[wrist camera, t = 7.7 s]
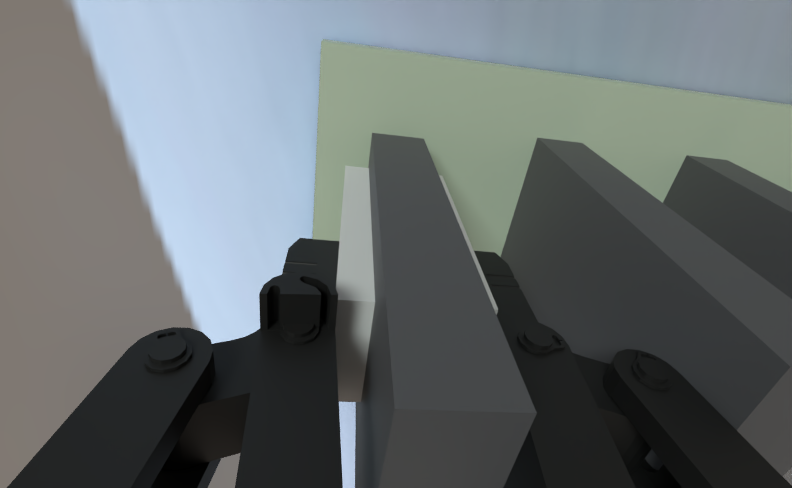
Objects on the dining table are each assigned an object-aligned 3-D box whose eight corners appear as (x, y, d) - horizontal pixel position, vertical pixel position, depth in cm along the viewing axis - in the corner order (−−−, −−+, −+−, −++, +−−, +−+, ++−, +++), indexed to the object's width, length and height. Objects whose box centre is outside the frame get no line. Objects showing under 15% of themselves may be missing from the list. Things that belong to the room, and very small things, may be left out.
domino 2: (537, 137, 14) (791, 366, 6) (582, 142, 15) (888, 371, 6) (498, 262, 17) (636, 547, 8) (537, 265, 17) (710, 546, 9)
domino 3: (686, 155, 15) (1103, 382, 7) (727, 159, 15) (1182, 386, 7) (628, 272, 18) (875, 545, 9) (663, 275, 18) (937, 543, 9)
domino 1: (372, 132, 13) (395, 409, 5) (423, 138, 13) (537, 412, 5) (357, 268, 16) (353, 611, 7) (400, 272, 16) (448, 608, 7)
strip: (322, 38, 13) (321, 41, 12) (1040, 139, 17) (1062, 144, 16) (311, 281, 18) (310, 290, 17) (875, 319, 21) (888, 328, 21)
